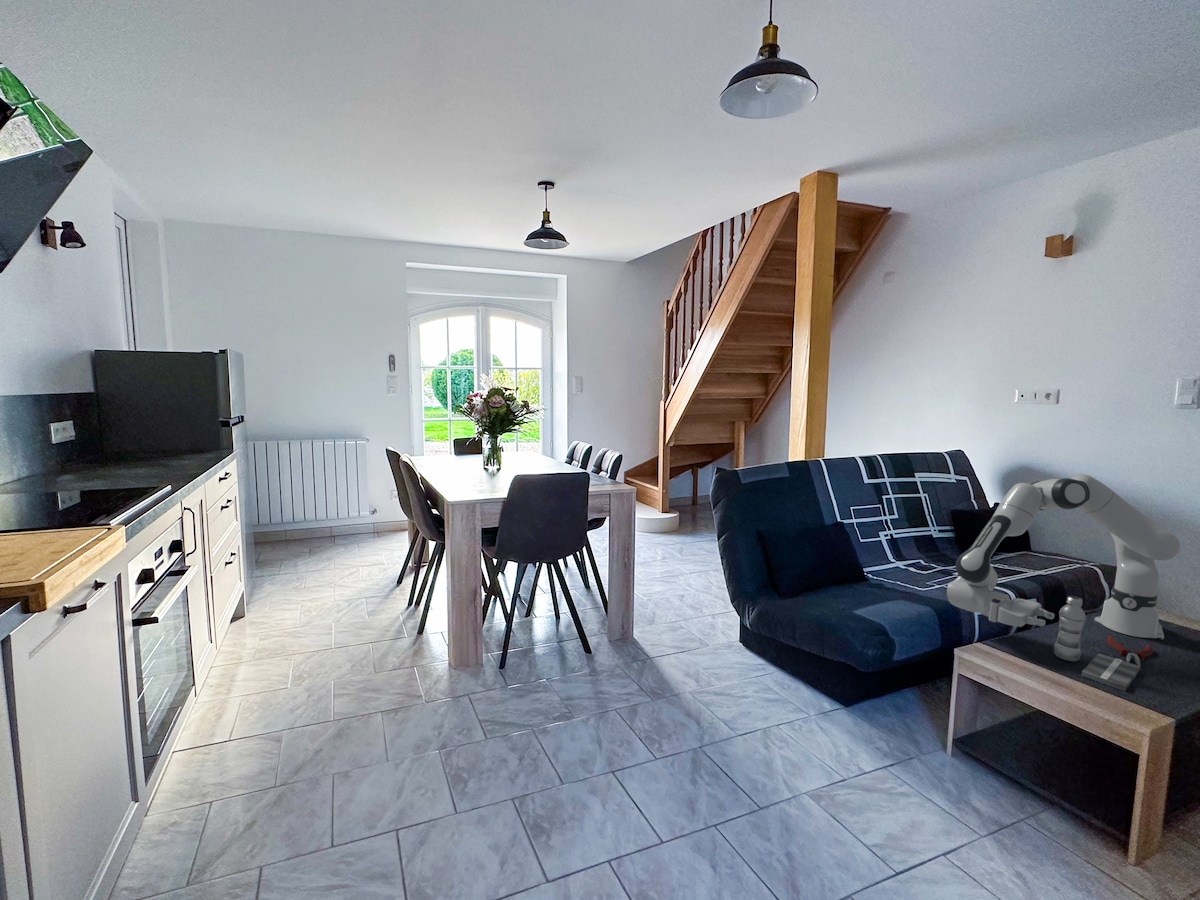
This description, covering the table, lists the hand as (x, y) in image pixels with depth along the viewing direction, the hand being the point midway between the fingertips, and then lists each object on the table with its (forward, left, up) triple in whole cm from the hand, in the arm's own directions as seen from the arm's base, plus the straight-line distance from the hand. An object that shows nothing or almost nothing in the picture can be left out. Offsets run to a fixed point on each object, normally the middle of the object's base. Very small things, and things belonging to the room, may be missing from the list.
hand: (1049, 620), depth 191 cm
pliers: (-23, +16, -12) cm, 30 cm away
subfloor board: (0, +17, -11) cm, 20 cm away
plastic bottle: (0, +6, -11) cm, 12 cm away
